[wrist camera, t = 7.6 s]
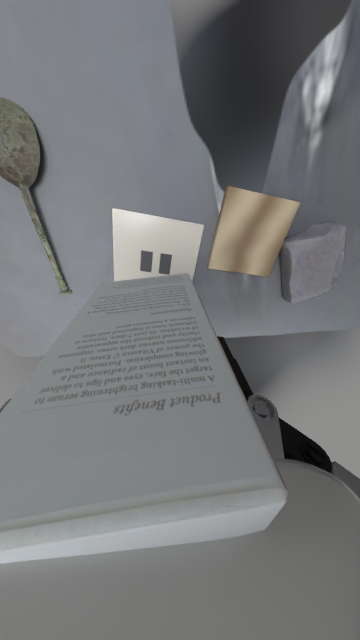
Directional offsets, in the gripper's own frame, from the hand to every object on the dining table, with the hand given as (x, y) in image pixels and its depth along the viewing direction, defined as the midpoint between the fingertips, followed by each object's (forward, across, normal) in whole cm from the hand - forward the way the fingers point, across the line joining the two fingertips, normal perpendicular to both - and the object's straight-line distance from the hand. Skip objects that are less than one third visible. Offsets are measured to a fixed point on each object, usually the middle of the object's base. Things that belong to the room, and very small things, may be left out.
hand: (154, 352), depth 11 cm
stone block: (+22, -26, -4) cm, 34 cm away
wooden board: (+21, -14, -6) cm, 26 cm away
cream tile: (+21, 0, 0) cm, 21 cm away
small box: (+3, 0, 0) cm, 3 cm away
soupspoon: (+22, +16, -4) cm, 28 cm away
